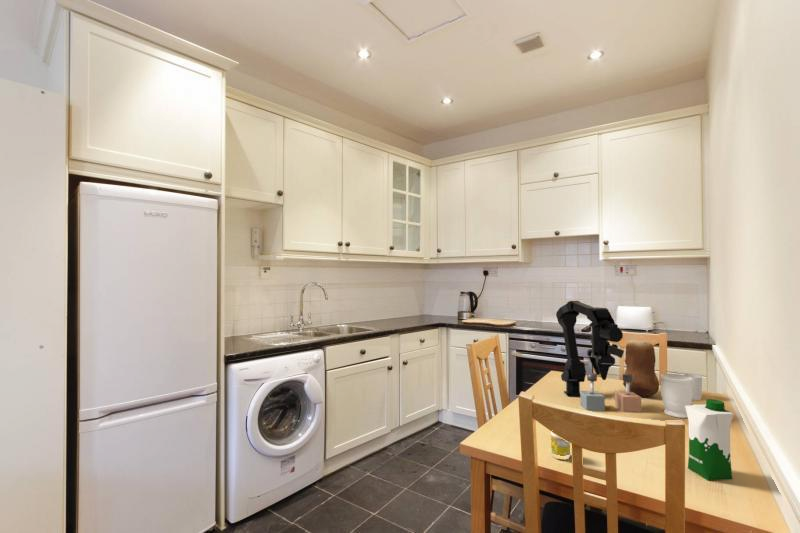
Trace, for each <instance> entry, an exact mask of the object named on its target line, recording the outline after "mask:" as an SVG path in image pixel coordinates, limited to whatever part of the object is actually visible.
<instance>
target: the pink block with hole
mask: <svg viewBox="0 0 800 533" xmlns="http://www.w3.org/2000/svg"><path fill="white" fill-rule="evenodd" d="M629 394H630V395H626V391H615V393H614V396H615V397H614V399H615V402H614V404H615V407H616V408H617V407H618V408H617V409H619V410H620V411H621V412H623V413H642V397H641V396H638V395H637V394H635V393H634V392H629Z"/></svg>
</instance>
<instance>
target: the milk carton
mask: <svg viewBox="0 0 800 533" xmlns="http://www.w3.org/2000/svg"><path fill="white" fill-rule="evenodd" d="M685 407H686V412H687V416H688V418H687V420H688V461H687V469H689V470H690V471H692V472H694V473H695V474H696V475H698V476H699V477H701V478H703V479H705V480H707V481H709V482H711V481H727V480H733V470H732V460H731V427H732V422H733V418H734V413H733V412H731V411H729V410H726V409H725V402H724V401H722V400H718V399H711V398H708V399H706V401H705V404H693V405H692V404H691V405H688V406H685Z"/></svg>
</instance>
